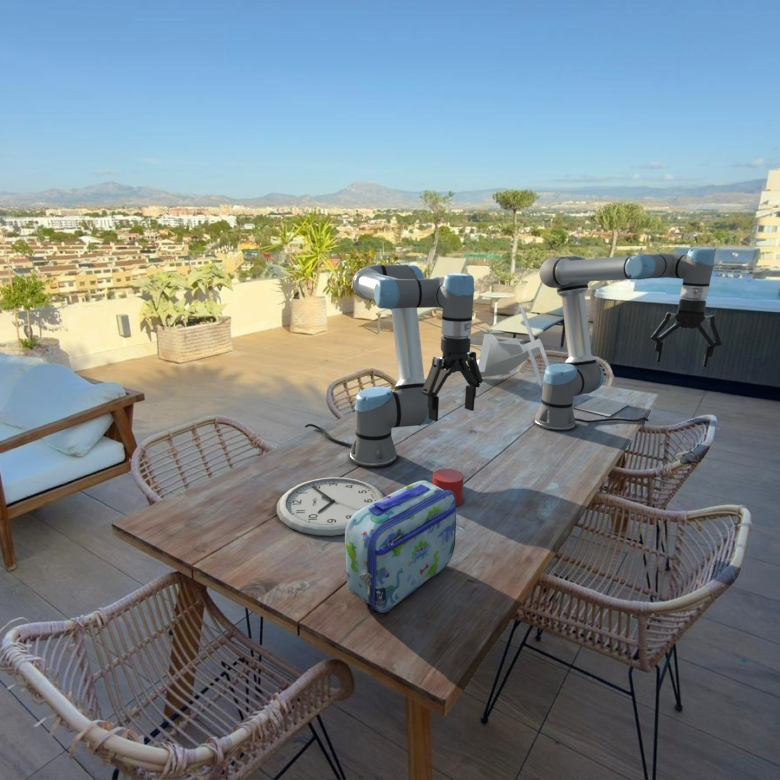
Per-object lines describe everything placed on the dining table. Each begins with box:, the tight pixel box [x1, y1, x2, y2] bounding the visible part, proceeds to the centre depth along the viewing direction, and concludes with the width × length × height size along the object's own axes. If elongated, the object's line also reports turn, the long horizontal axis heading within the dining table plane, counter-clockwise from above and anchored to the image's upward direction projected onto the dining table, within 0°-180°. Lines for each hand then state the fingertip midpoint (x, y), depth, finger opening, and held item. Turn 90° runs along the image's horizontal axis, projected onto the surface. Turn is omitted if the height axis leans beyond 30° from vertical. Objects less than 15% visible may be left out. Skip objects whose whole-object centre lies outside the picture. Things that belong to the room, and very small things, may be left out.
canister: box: [432, 468, 465, 507], centre depth 146 cm, size 8×8×8 cm
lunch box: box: [344, 480, 457, 614], centre depth 109 cm, size 26×11×21 cm, turn 135°
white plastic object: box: [476, 307, 551, 390], centre depth 257 cm, size 37×45×31 cm
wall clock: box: [276, 476, 386, 537], centre depth 142 cm, size 30×2×30 cm
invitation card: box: [573, 396, 629, 418], centre depth 226 cm, size 21×1×15 cm
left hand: (451, 414), depth 139 cm, fingers open, 13 cm apart
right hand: (680, 363), depth 173 cm, fingers open, 13 cm apart
